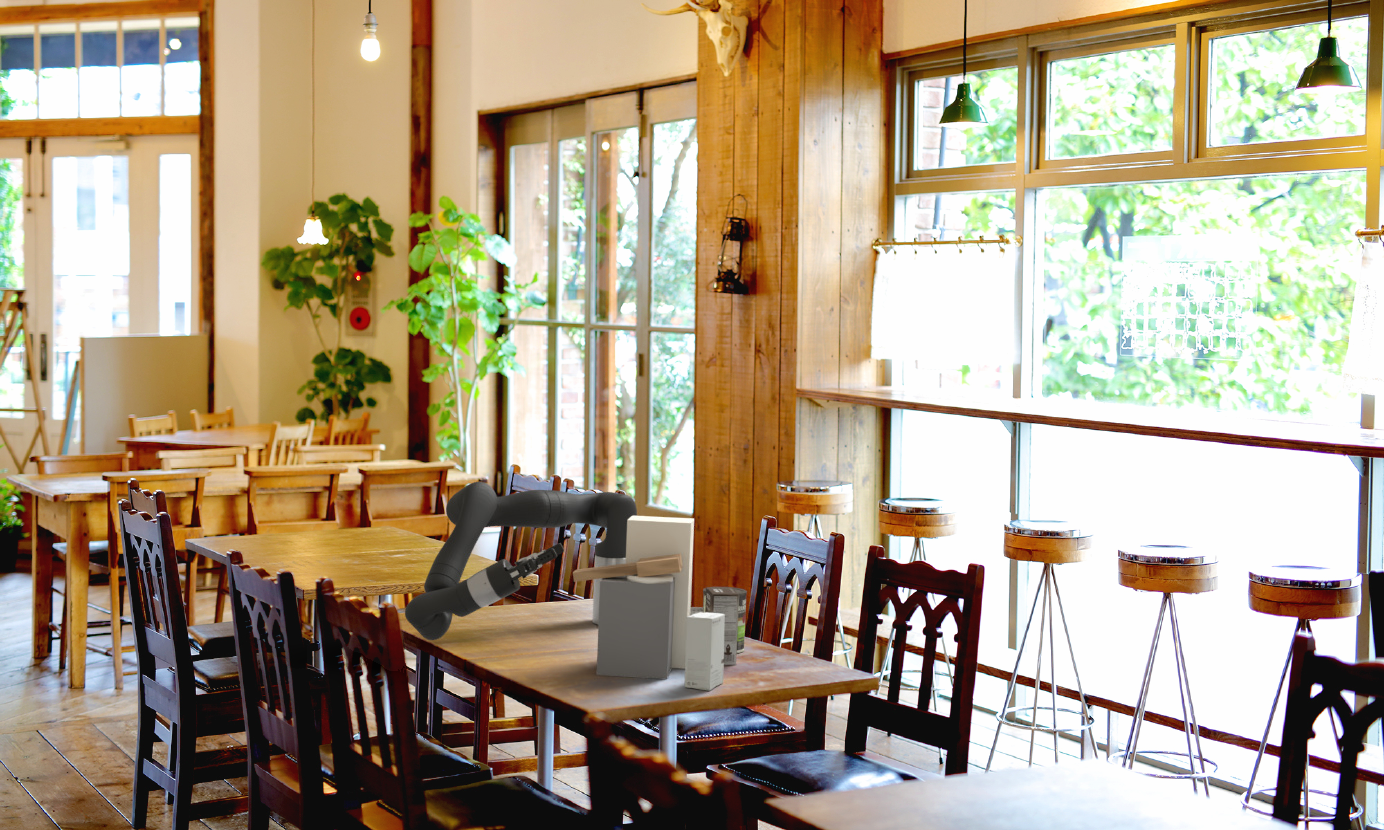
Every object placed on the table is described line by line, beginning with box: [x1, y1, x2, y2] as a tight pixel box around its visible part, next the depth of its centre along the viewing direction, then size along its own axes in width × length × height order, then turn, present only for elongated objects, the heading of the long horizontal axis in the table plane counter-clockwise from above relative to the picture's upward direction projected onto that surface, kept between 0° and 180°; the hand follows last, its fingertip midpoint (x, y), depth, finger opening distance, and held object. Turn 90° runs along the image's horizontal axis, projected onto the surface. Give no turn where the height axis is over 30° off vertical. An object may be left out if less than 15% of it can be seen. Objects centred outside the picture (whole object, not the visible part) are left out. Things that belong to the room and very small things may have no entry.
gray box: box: [596, 574, 675, 680], centre depth 281 cm, size 10×15×21 cm, turn 86°
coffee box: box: [705, 586, 739, 666], centre depth 295 cm, size 9×6×16 cm
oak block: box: [572, 554, 683, 583], centre depth 280 cm, size 7×23×3 cm, turn 86°
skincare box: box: [684, 612, 725, 692], centre depth 271 cm, size 8×6×15 cm
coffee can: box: [702, 587, 748, 654], centre depth 307 cm, size 10×10×14 cm
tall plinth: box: [626, 515, 695, 670], centre depth 290 cm, size 9×14×32 cm, turn 86°
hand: (558, 549), depth 281 cm, fingers open, 8 cm apart
